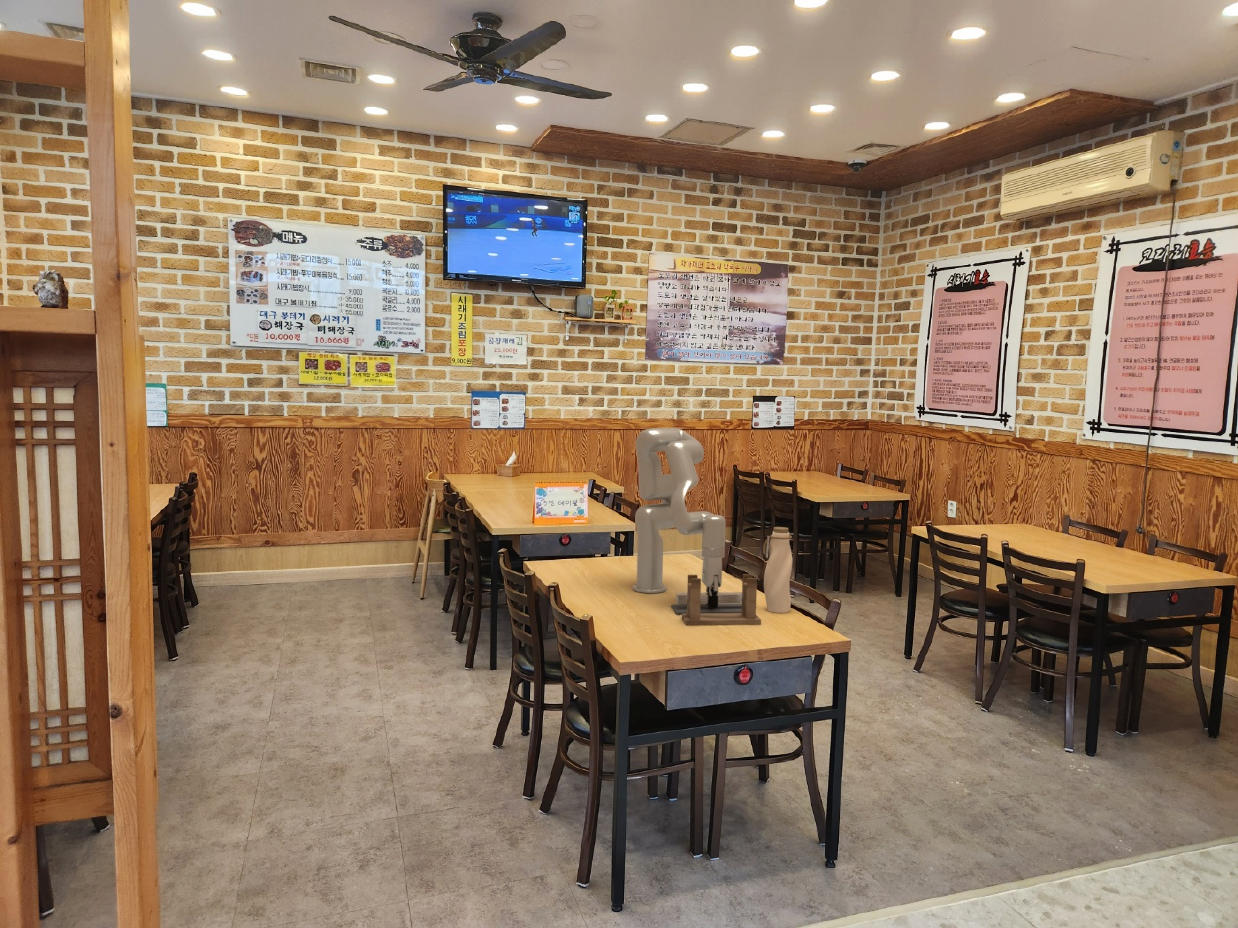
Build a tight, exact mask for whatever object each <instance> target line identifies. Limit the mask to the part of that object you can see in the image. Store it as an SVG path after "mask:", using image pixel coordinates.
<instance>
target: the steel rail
mask: <svg viewBox="0 0 1238 928" xmlns="http://www.w3.org/2000/svg"><path fill="white" fill-rule="evenodd" d="M708 596H709V593H708V592H701V597H700V604H708ZM675 602H676V603H675V604H687V592H676V593H675ZM718 604H742V591H741V592H738V591H737V592H732V591H730V592H718Z"/></svg>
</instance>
